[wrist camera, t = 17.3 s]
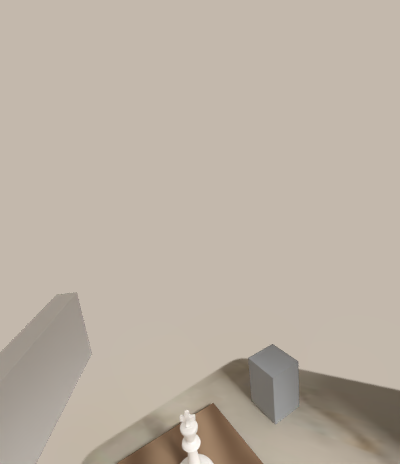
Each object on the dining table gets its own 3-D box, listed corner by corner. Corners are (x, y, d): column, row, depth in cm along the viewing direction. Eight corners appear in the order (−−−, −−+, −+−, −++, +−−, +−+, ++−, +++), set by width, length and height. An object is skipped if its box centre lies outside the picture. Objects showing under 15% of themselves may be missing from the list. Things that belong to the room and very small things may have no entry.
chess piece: (217, 502, 31) (208, 432, 28) (173, 504, 31) (160, 434, 29) (216, 456, 36) (209, 392, 33) (178, 457, 36) (167, 394, 33)
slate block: (274, 385, 47) (272, 343, 44) (299, 406, 42) (298, 361, 40) (251, 400, 44) (248, 357, 42) (275, 424, 40) (272, 378, 38)
